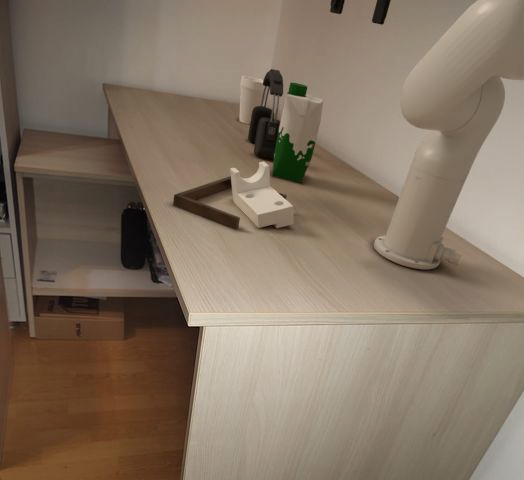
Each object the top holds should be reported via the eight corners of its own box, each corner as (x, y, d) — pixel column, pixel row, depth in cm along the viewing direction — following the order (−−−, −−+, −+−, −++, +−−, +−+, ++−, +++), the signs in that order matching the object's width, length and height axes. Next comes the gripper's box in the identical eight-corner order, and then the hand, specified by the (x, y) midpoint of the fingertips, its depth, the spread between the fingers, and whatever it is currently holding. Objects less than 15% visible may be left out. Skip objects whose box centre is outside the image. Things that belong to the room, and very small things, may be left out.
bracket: (233, 205, 99) (230, 168, 94) (265, 198, 101) (263, 161, 96) (258, 232, 90) (256, 193, 85) (293, 223, 92) (293, 184, 87)
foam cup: (230, 117, 167) (236, 74, 160) (255, 120, 171) (262, 78, 164) (241, 124, 161) (248, 80, 153) (266, 127, 165) (274, 84, 157)
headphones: (278, 162, 130) (295, 78, 118) (254, 158, 128) (269, 73, 117) (266, 141, 147) (280, 66, 136) (246, 138, 146) (258, 62, 135)
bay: (284, 204, 103) (286, 195, 102) (235, 229, 86) (237, 218, 85) (229, 184, 107) (231, 175, 105) (173, 205, 90) (173, 194, 89)
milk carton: (274, 167, 125) (291, 80, 114) (308, 176, 124) (329, 89, 113) (267, 175, 118) (285, 83, 106) (303, 185, 117) (325, 93, 106)
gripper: (357, -122, 75) (328, 11, 85) (439, -89, 83) (404, 29, 93) (332, -118, 81) (307, 7, 90) (412, -87, 88) (381, 25, 98)
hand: (356, 18), depth 91 cm, fingers open, 9 cm apart
